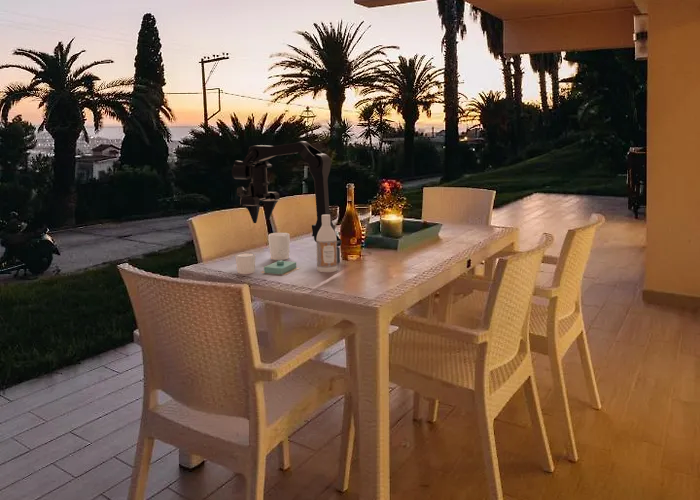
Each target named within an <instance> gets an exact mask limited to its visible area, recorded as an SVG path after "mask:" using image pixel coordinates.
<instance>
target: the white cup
mask: <svg viewBox="0 0 700 500" xmlns="http://www.w3.org/2000/svg"><path fill="white" fill-rule="evenodd" d="M290 243H291V242H290V233H288V232H272V233H269V234H268V244H269V247H268V248H269V254H270V260H274V261H279V260H283V261H285V260H288V259H289V258H290Z"/></svg>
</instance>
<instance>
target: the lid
mask: <svg viewBox="0 0 700 500" xmlns="http://www.w3.org/2000/svg"><path fill="white" fill-rule="evenodd" d="M295 268H297V262H296V261H288V260H276V261H275V262H273V263H270V264H268V265H265V266H264V267H263V271H264V273H263V274H271V273H273V275H282V274H284V273H286V272H288V271H291V270H293V269H295Z"/></svg>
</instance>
